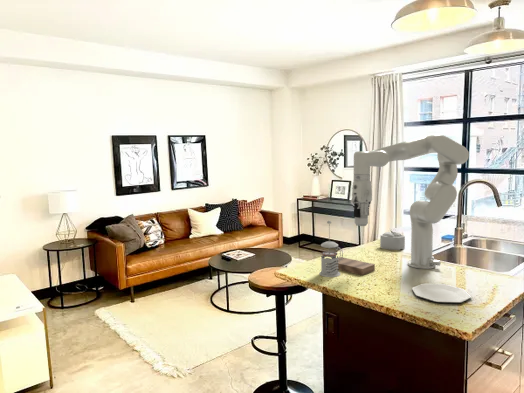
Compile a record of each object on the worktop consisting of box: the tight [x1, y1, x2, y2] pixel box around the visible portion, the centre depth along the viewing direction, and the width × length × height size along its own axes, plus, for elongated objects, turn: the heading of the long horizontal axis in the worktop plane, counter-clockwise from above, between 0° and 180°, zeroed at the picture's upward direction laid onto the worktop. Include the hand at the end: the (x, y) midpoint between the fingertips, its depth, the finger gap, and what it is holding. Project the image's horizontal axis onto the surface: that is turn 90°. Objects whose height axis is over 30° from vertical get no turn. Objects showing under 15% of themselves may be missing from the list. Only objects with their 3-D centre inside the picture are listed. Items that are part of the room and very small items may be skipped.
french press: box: [319, 220, 344, 278], centre depth 178 cm, size 10×12×25 cm
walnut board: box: [329, 256, 376, 276], centre depth 186 cm, size 20×10×3 cm, turn 42°
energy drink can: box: [354, 197, 369, 227], centre depth 181 cm, size 6×6×15 cm
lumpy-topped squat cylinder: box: [379, 231, 406, 251], centre depth 223 cm, size 10×13×9 cm
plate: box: [411, 282, 472, 304], centre depth 149 cm, size 20×20×2 cm
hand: (361, 215), depth 181 cm, fingers closed on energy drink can, 6 cm apart
